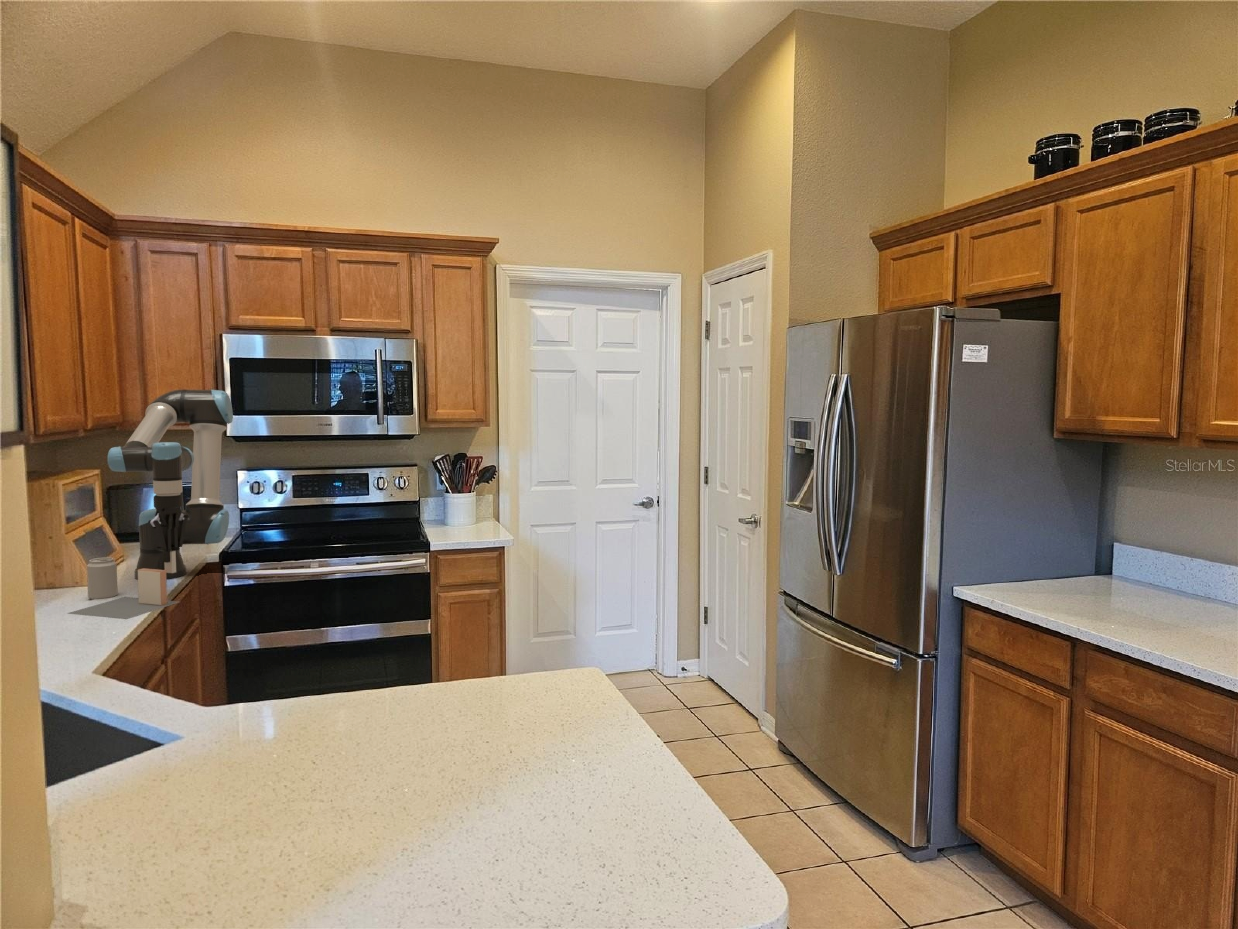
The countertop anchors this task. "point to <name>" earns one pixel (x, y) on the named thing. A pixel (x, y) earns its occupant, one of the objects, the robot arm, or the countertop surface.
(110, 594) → the can
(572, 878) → the countertop surface
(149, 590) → the tile
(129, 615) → the mat
